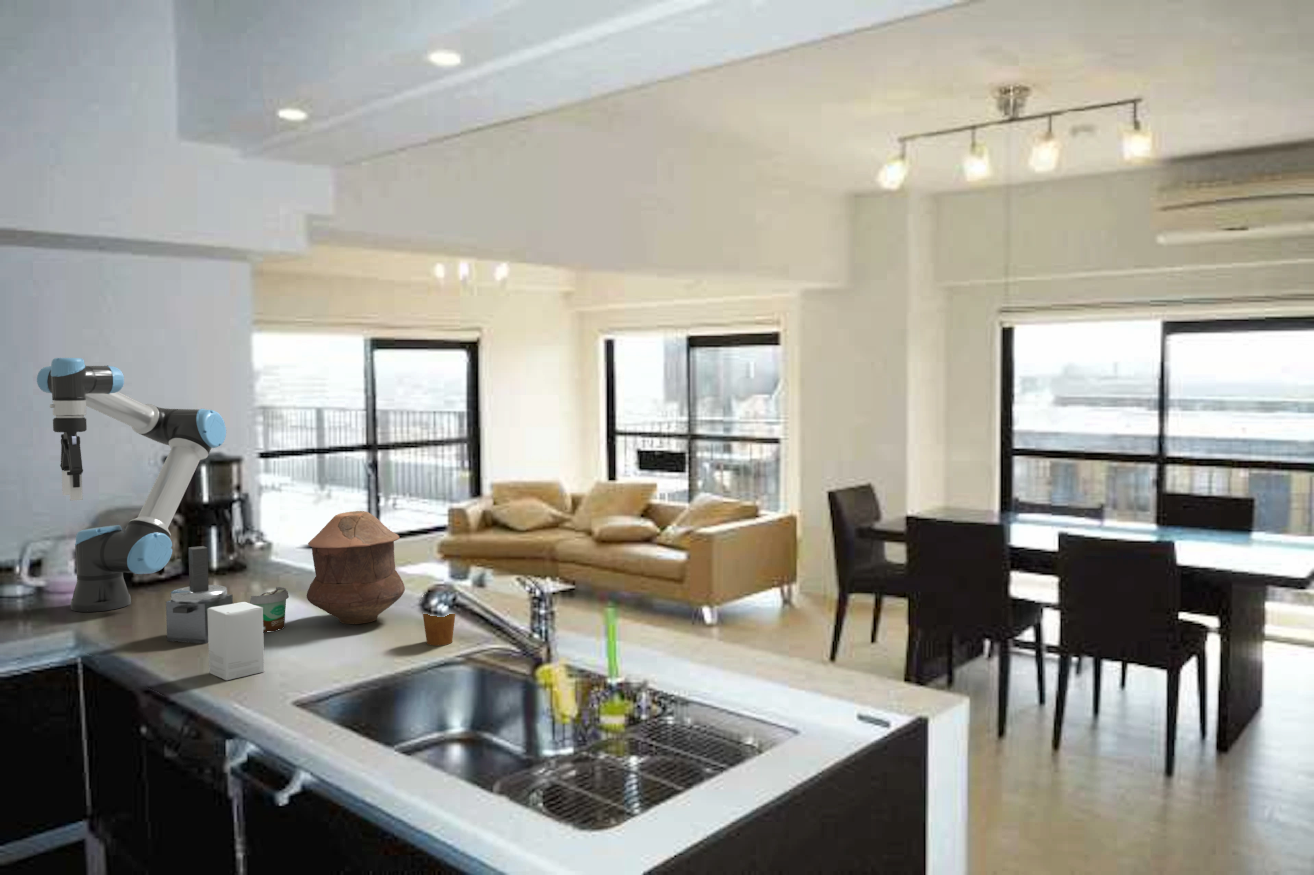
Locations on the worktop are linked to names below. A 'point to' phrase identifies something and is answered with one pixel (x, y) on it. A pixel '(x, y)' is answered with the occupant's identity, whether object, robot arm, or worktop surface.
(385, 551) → the pottery vessel
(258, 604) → the food container
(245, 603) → the supplement box
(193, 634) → the grey open storage bin
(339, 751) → the worktop surface
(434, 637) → the disposable coffee cup
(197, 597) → the lid
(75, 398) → the robot arm
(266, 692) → the worktop surface
